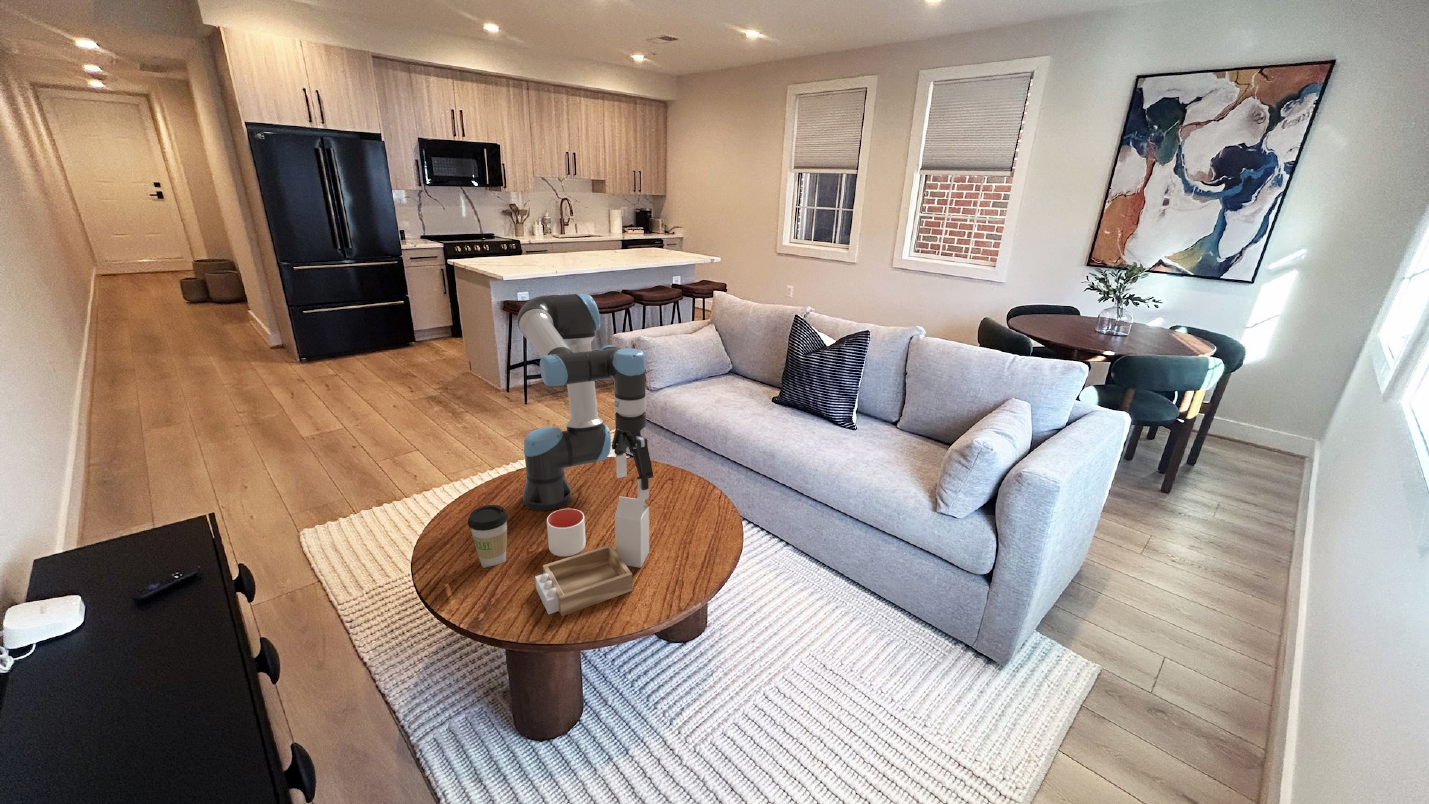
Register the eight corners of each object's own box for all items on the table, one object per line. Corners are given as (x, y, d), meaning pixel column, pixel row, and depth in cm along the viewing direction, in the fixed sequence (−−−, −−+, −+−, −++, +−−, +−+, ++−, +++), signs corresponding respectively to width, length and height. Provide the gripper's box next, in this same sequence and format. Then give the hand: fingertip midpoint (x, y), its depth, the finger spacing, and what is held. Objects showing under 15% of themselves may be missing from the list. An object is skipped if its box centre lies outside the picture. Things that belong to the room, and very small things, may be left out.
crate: (544, 585, 140) (542, 565, 138) (611, 563, 149) (610, 544, 147) (561, 619, 129) (560, 598, 127) (632, 593, 139) (632, 574, 136)
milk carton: (641, 568, 148) (640, 507, 141) (616, 564, 149) (614, 503, 142) (649, 552, 154) (649, 493, 148) (625, 548, 156) (623, 489, 149)
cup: (592, 542, 158) (591, 512, 154) (573, 563, 149) (571, 531, 145) (562, 535, 161) (560, 505, 157) (541, 554, 152) (538, 523, 148)
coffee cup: (473, 554, 151) (466, 507, 145) (511, 547, 154) (506, 500, 149) (474, 576, 142) (467, 527, 137) (514, 568, 146) (509, 519, 141)
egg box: (536, 589, 137) (534, 572, 135) (552, 584, 139) (551, 567, 137) (548, 614, 129) (546, 596, 127) (565, 608, 131) (563, 590, 129)
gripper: (597, 398, 144) (600, 471, 152) (638, 432, 125) (639, 513, 132) (624, 394, 148) (625, 465, 155) (667, 426, 128) (667, 505, 136)
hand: (632, 487), depth 144 cm, fingers open, 13 cm apart
